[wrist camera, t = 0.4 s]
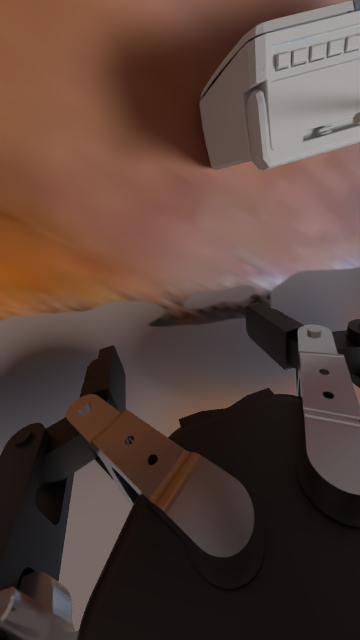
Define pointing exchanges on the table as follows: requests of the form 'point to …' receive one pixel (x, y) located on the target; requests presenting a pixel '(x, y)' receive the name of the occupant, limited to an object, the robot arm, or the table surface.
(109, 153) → the table surface
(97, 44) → the table surface
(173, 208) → the table surface
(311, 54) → the stereo radio cassette player
